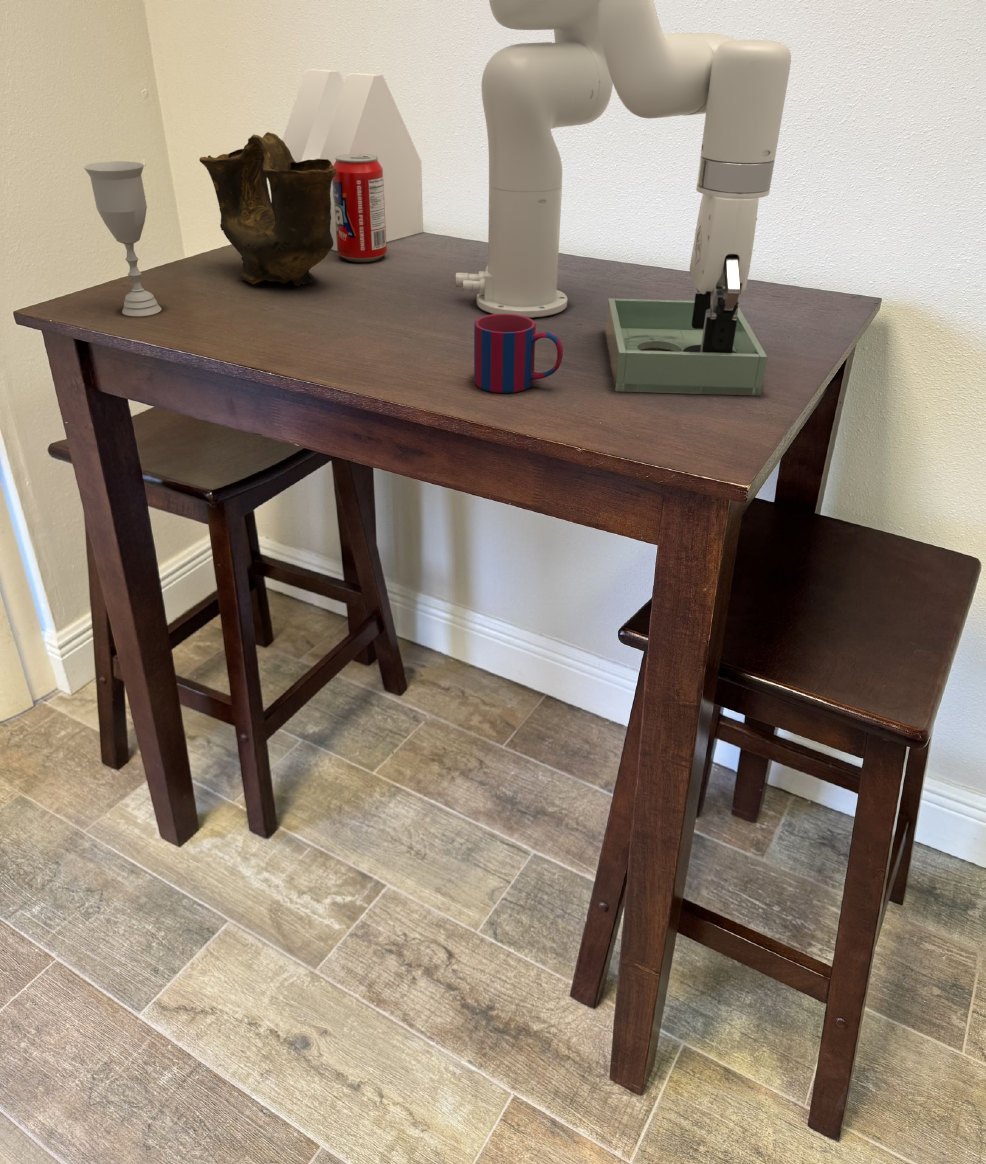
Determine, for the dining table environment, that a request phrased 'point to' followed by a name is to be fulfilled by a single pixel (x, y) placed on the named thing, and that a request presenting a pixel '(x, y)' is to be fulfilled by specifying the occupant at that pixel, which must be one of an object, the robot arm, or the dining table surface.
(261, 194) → the pottery vessel
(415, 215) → the white twin peaked block
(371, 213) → the soda can
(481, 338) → the mug
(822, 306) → the dining table surface
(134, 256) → the chalice
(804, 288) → the dining table surface
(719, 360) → the sink
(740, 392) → the sink floor
